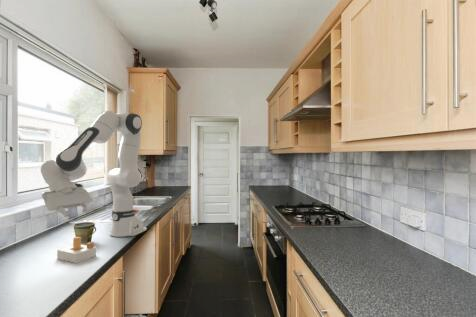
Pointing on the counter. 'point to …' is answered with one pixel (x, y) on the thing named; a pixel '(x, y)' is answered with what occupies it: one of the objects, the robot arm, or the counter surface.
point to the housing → (77, 253)
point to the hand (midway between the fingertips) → (76, 213)
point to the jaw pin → (76, 243)
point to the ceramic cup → (84, 231)
